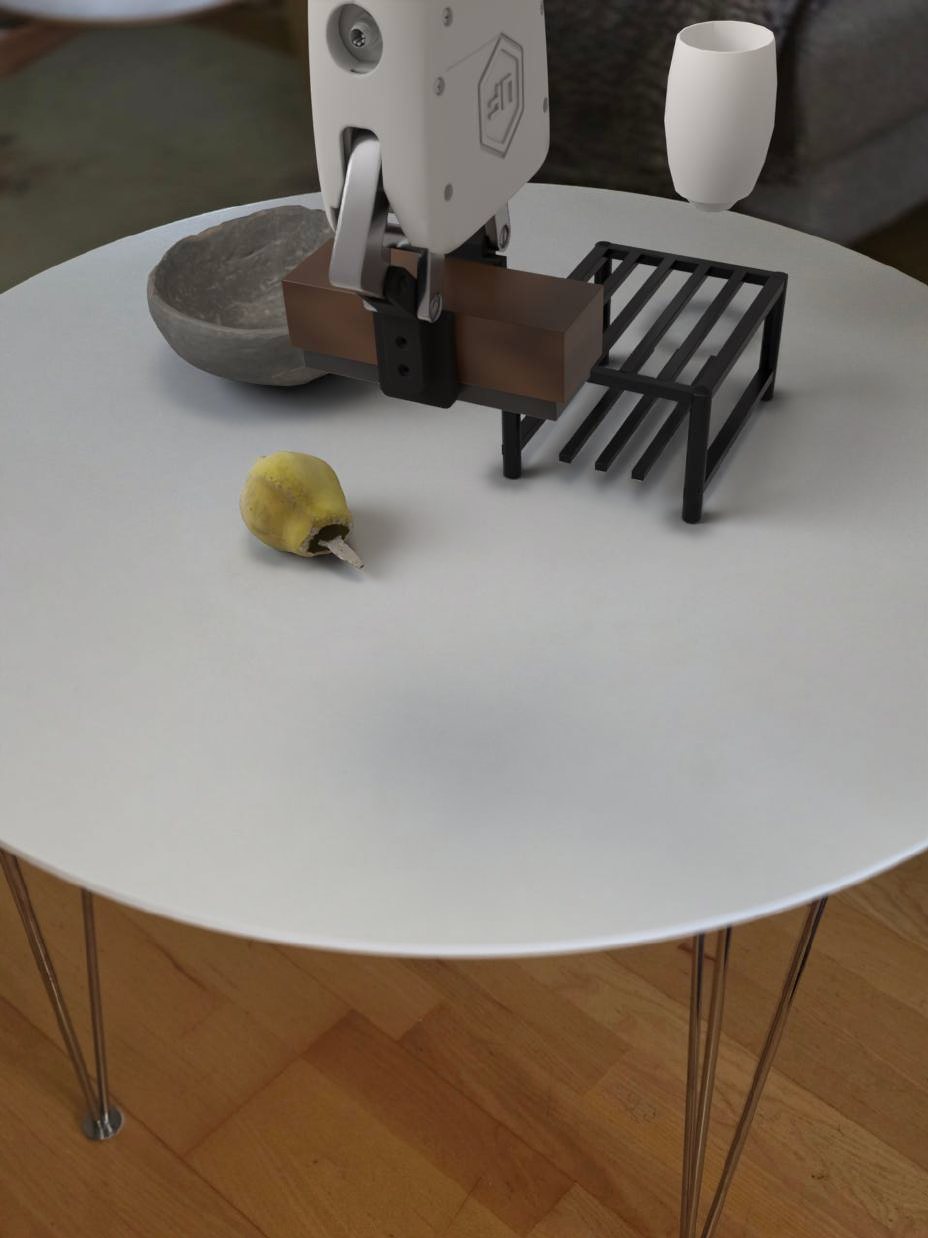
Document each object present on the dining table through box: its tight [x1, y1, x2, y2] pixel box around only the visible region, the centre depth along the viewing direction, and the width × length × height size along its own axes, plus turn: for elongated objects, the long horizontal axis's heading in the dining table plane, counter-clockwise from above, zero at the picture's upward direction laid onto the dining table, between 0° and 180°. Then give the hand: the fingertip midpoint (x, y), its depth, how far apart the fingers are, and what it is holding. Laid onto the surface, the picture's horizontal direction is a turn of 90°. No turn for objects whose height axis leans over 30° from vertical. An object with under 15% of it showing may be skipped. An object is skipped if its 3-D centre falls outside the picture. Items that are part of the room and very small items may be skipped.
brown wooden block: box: [281, 238, 604, 422], centre depth 54 cm, size 12×4×4 cm, turn 65°
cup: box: [663, 20, 778, 213], centre depth 94 cm, size 7×7×21 cm
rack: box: [500, 240, 789, 524], centre depth 87 cm, size 13×16×9 cm
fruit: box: [239, 450, 365, 569], centre depth 81 cm, size 6×6×10 cm
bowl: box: [146, 204, 336, 387], centre depth 97 cm, size 18×18×8 cm
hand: (446, 365), depth 55 cm, fingers closed on brown wooden block, 4 cm apart
